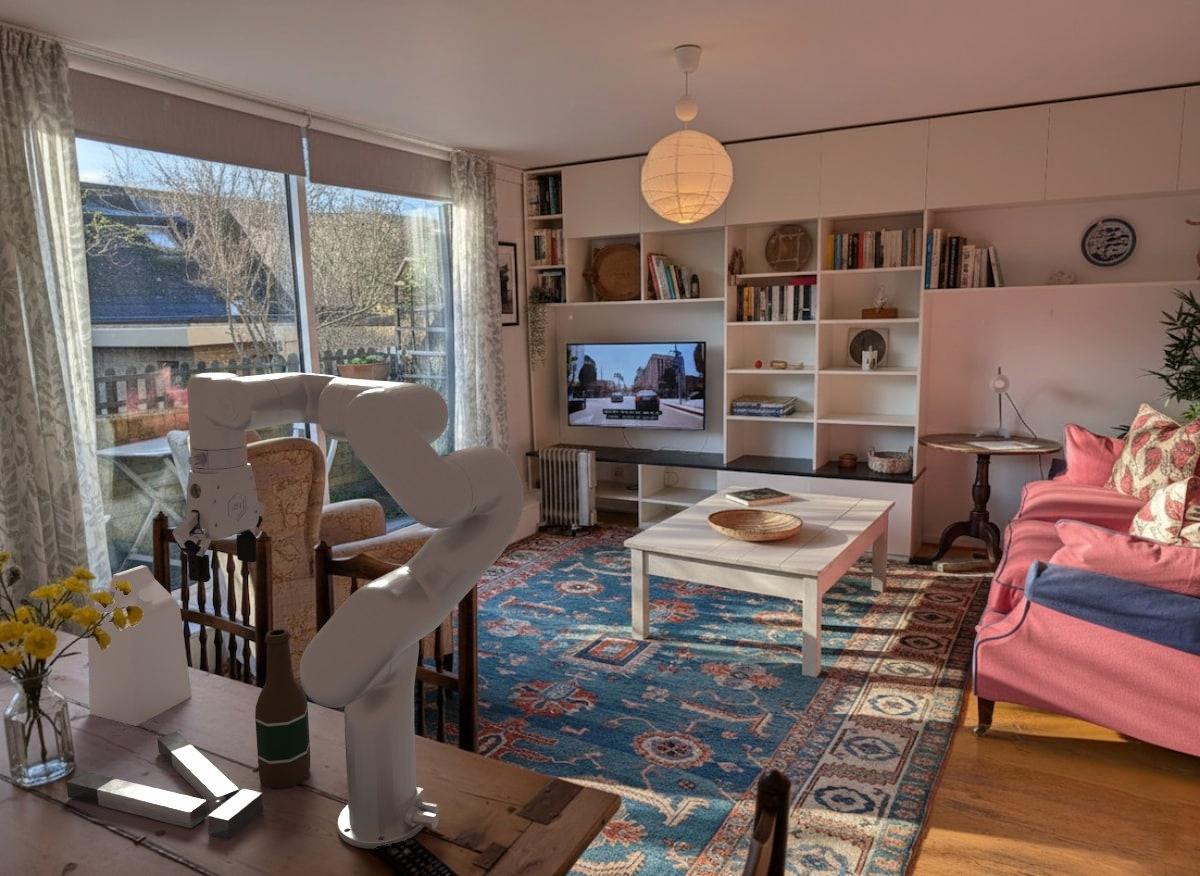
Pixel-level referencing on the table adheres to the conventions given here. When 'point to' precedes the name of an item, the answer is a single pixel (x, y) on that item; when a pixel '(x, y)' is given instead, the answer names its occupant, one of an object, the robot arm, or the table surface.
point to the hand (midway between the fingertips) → (224, 570)
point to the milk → (139, 655)
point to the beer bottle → (282, 719)
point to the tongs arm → (197, 770)
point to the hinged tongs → (167, 803)
